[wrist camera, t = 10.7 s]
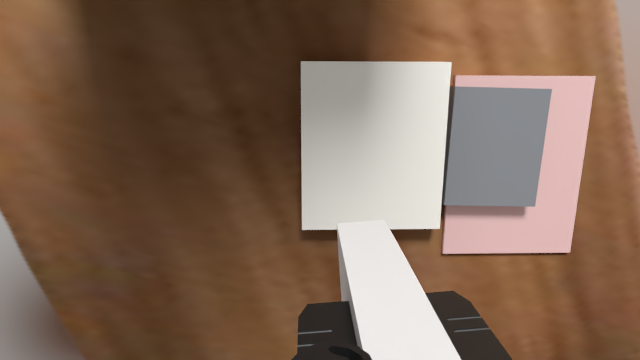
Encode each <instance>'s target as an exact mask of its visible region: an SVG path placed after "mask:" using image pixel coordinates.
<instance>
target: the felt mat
mask: <svg viewBox="0 0 640 360" xmlns="http://www.w3.org/2000/svg"><path fill="white" fill-rule="evenodd" d="M594 83H595V76H454V86H458V87H496V88H534V89H552V93H551V99H550V106H549V113H548V120H547V127H546V134H545V141H544V148H543V155H542V162H541V169H540V176H539V183H538V190H537V196H536V203H535V207H524V206H459V205H445V210H444V224H443V238H442V253H443V254H473V253H570V249H571V242H572V235H573V228H574V221H575V214H576V208H577V201H578V194H579V187H580V180H581V173H582V166H583V159H584V152H585V145H586V139H587V132H588V125H589V118H590V111H591V104H592V97H593V90H594Z"/></svg>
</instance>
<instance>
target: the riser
mask: <svg viewBox="0 0 640 360" xmlns="http://www.w3.org/2000/svg"><path fill="white" fill-rule="evenodd" d="M450 76H451V62H348V61H301V172H302V230H337V223H347V222H360V221H373V220H385V221H386V223H387V225H388V227H389V228H390V229H440V218H441V204H442V190H443V176H444V161H445V147H446V133H447V119H448V104H449V90H450Z"/></svg>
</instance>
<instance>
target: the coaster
mask: <svg viewBox="0 0 640 360" xmlns="http://www.w3.org/2000/svg"><path fill="white" fill-rule="evenodd" d="M551 93H552V89H534V88H496V87H458V86H450V90H449V104H448V119H447V133H446V147H445V161H444V176H443V190H442V204H443V205H459V206H524V207H535V203H536V196H537V190H538V183H539V176H540V169H541V162H542V155H543V148H544V141H545V134H546V127H547V120H548V113H549V106H550V99H551Z"/></svg>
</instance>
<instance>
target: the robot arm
mask: <svg viewBox="0 0 640 360" xmlns="http://www.w3.org/2000/svg"><path fill="white" fill-rule="evenodd" d="M337 238H338V253H339V269H340V284H341V300H342V301H341V302H329V303H317V304H307V306H306V307H305V309H304V310H303V312H302V313H301V314H300V316H299V319H298V351H297V355H296V356H295V357H294V358H293V359H292V360H512V359H511V357H510V356H509V354H508V353H507V352H506V350H505V349H504V348H503V346H502V345H501V343H500V342H499V341H498V339H497V338H496V337H495V335H494V334H493V332H492V331H491V330H489V328H488V326H487V324H486V323H485V321H484V320H483V319H482V318H480V315H479V313H478V312H477V310H476V309H475V308H474V306H473V305H472V304H471V302H470V301H468V300H467V299H465V298H464V297H462V296H461V295H459V294H457V293H456V292H454V291H446V292H434V293H425V292H424V291H423V289H422V287H421V285H420V283H419V281H418V280H417V278H416V276H415V274H414V272H413V270H412V269H411V267H410V265H409V263H408V261H407V260H406V258H405V256H404V254H403V252H402V250H401V249H400V247H399V245H398V243H397V241H396V239H395V238H394V236H393V234H392V232H391V230H390V228H389V227H388V225H387V223H386V221H385V220H373V221H360V222H347V223H337Z"/></svg>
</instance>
